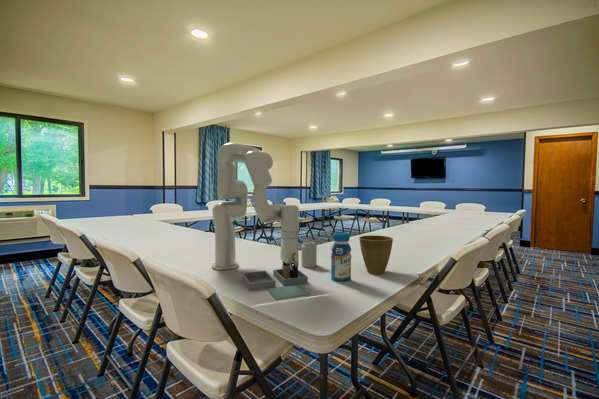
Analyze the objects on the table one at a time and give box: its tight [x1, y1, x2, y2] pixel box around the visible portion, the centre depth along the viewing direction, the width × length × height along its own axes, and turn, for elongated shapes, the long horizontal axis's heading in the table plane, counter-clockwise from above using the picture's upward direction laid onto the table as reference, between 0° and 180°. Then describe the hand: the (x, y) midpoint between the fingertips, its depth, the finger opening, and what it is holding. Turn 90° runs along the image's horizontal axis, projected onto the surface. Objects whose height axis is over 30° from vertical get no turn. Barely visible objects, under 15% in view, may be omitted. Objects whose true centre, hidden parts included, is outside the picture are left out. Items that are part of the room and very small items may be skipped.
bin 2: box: [272, 268, 309, 286], centre depth 118 cm, size 14×10×3 cm
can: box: [300, 241, 318, 269], centre depth 138 cm, size 8×8×12 cm
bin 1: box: [241, 270, 276, 292], centre depth 113 cm, size 14×10×3 cm
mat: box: [266, 284, 311, 301], centre depth 104 cm, size 11×13×1 cm
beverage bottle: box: [330, 231, 352, 284], centre depth 117 cm, size 8×8×20 cm
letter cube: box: [281, 264, 294, 279], centre depth 118 cm, size 5×5×5 cm
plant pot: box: [358, 234, 394, 275], centre depth 130 cm, size 15×15×16 cm
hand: (290, 275), depth 118 cm, fingers open, 9 cm apart
